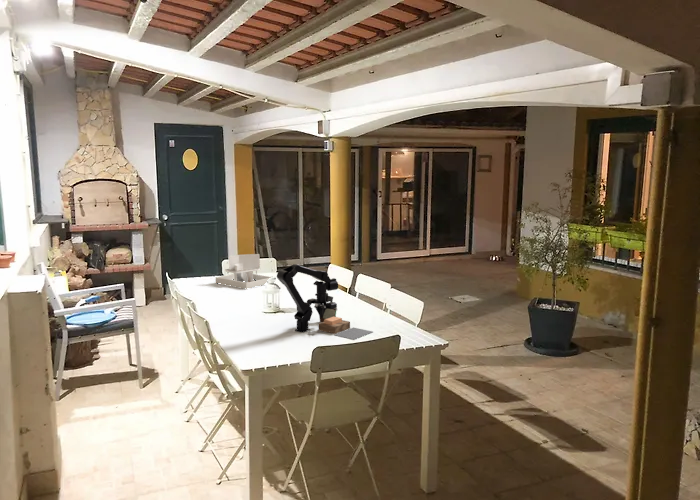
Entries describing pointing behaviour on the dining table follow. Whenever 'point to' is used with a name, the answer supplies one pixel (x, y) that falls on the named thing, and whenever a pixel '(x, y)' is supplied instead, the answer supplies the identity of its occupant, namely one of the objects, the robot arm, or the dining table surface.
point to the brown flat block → (334, 327)
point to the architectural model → (244, 266)
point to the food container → (328, 314)
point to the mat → (353, 333)
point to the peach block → (333, 320)
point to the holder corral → (228, 281)
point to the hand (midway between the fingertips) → (321, 317)
